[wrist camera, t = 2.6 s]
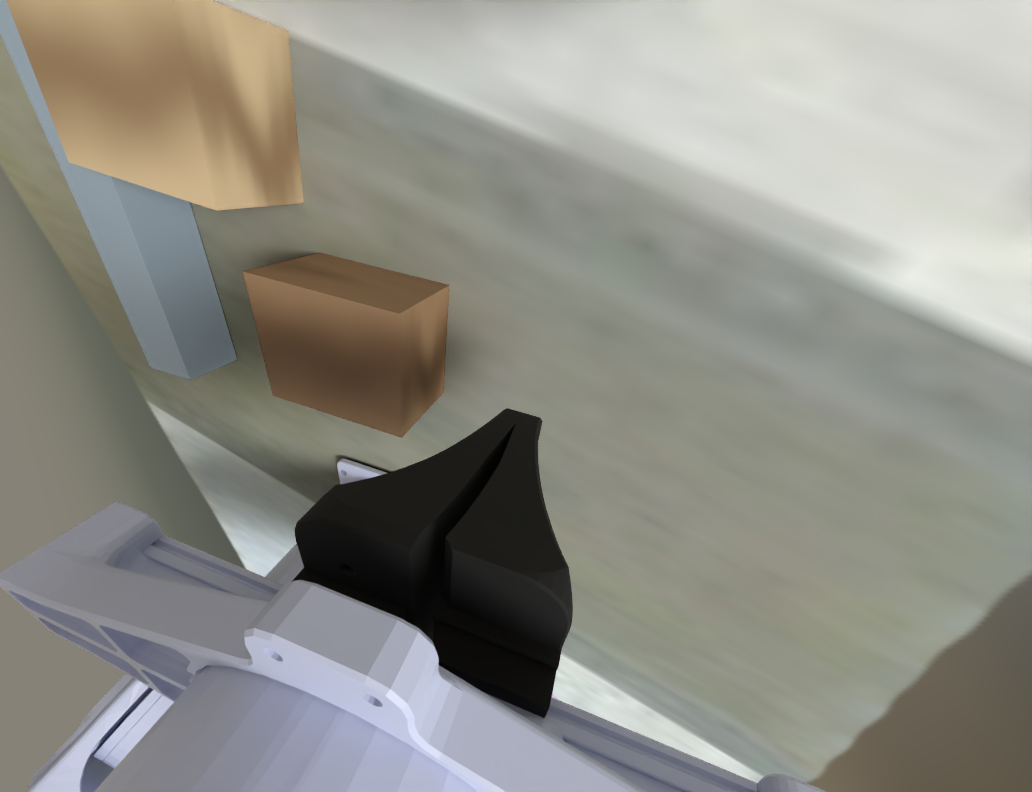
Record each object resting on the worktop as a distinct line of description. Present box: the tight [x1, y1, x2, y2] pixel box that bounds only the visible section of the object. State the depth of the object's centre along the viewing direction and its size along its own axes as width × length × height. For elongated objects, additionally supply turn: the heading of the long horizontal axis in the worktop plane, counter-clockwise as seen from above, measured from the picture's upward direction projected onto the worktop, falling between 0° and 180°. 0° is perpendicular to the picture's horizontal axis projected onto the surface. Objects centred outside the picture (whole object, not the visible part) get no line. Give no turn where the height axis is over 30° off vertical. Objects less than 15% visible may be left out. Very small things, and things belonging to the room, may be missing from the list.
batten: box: [0, 0, 237, 381], centre depth 18 cm, size 18×3×3 cm, turn 172°
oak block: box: [6, 0, 303, 210], centre depth 15 cm, size 6×7×4 cm
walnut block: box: [243, 253, 449, 438], centre depth 18 cm, size 6×7×4 cm
